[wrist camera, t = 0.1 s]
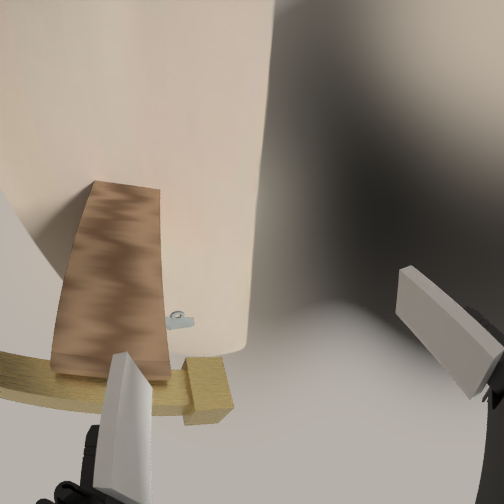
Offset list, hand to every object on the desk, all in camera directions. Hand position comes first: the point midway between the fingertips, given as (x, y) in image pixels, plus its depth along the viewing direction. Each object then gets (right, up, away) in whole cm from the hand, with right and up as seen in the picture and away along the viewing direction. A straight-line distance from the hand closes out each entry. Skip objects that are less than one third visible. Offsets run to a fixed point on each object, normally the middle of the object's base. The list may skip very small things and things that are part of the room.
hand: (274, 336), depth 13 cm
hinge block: (-19, +8, +26) cm, 33 cm away
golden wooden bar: (-14, -6, +6) cm, 16 cm away
